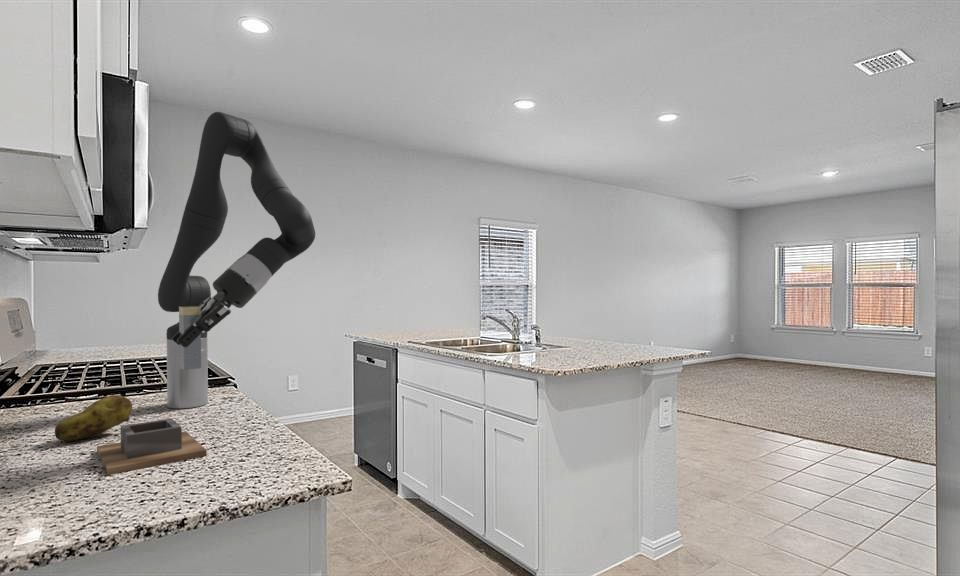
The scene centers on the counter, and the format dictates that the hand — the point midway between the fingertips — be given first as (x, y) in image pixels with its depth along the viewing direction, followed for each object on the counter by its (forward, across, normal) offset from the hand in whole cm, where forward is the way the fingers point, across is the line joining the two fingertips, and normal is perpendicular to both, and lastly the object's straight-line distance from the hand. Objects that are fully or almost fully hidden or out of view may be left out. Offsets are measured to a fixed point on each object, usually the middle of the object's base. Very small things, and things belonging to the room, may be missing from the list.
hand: (178, 343), depth 105 cm
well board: (+18, +2, +10) cm, 21 cm away
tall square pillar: (+2, 0, +5) cm, 5 cm away
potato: (+22, -18, +6) cm, 29 cm away
